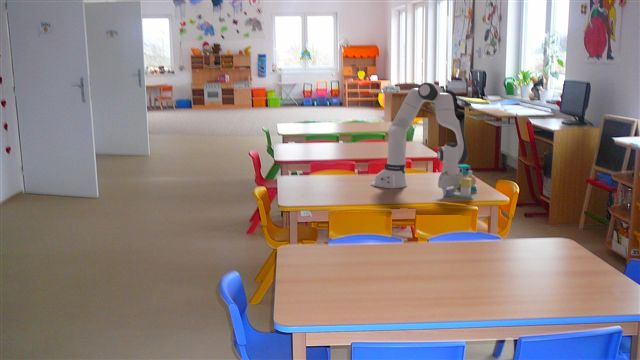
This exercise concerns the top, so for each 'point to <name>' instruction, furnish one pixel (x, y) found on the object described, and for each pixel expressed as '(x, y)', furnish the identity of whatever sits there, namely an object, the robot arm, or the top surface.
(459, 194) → the build plate
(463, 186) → the mustard block
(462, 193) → the white block
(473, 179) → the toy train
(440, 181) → the robot arm
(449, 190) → the blue block
